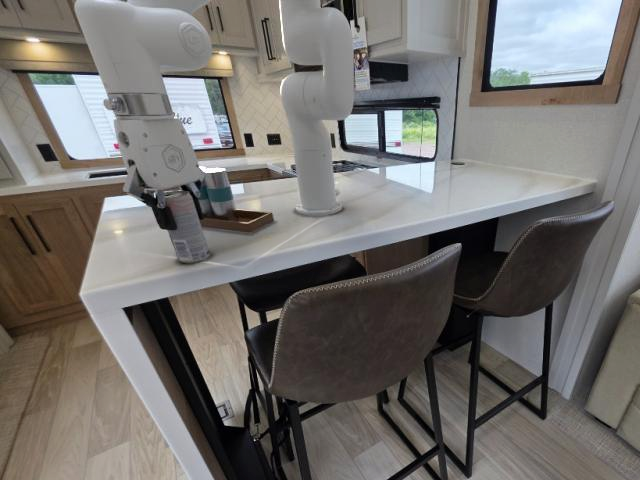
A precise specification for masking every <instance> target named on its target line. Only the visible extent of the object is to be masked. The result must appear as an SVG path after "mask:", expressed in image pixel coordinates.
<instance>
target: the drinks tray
mask: <svg viewBox="0 0 640 480" xmlns="http://www.w3.org/2000/svg"><path fill="white" fill-rule="evenodd" d="M236 211H237V215H238V219H239V222H235V221H226V220H217V219H209V218H204V219H203V220H200V224H201V227H202V228H207V229H217V230H224V231H233V232H241V233H249V234H251V233H252V232H254V231H256V230H258V229H260V228H262V227H264V226H266V225H268V224H270V223H272V222H274V221H275V219H274V214H273V212H272V211H261V210H251V209H241V208H236Z"/></svg>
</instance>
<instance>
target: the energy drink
mask: <svg viewBox="0 0 640 480" xmlns="http://www.w3.org/2000/svg"><path fill="white" fill-rule="evenodd" d="M164 194H165V206H166V207H169V208H170V209H171V212H172V215H173V218H174V220H175V223H176V226H177V229H176V230H174V231H172V230H166V231H167V234H168V236H169V238H170V242H171V244H172V247H173V249H174V252H175V254H176V258H177V260H178V261H179V262H181V263H183V264H196V263H200V262H202V261H203V259H206V258H208V257H209V256H210V255H211V252H210V249H209V246H208V242H207V239H206V236H205V234H204V230H203V227H201V224H200V220H199V217H198V214H197V211H196V208H195V205H194V202H193V199H192V196H191V195H190V194H189V192H188V191H181V190H170V191H164Z"/></svg>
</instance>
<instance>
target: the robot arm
mask: <svg viewBox="0 0 640 480" xmlns="http://www.w3.org/2000/svg"><path fill="white" fill-rule="evenodd" d="M212 1H213V0H126V1H123V0H75V3H74V6H73V7H74V12H75V15H76V18H77V21H78V24H79V26H80V29H81V32H82V34H83V37H84V39H85V43H86V44H87V47H88V50H89V52H90V54H91V58H92V59H93V62H94V65H95V67H96V70H97V72H98V75H99V77H100V80H101V82H102V86H103V88H104V91H105V93H106V96H107V98H105V99H103V101H102V103H103V106H104V108H105V109H106V110H108V111H112V112H113V115H114V116H115V119H113V128H114V132H115V133H114V134H115V138H116V141H117V146H118V148H119V152H120V156H121V158H122V161H123V164H124V168H125V170H126V172H127V175H126V178H125V181H124V184H123V187H122V191H123V193H124V194H126V195H128V196H130V197H133V198H134V199H136V200H138V201H139V202H141V203H142V204H145V206H146V207H148V208H151V211H152V213H153V216H154V218H155V221H156V223H157V225H158V226H159V229H161V230H163V231H164V230H165V231H167V230H172V231H174V230H176V229H177V226H176V223H175V220H174V218H173V215H172V212H171V209H170V208H169V207H166V206H165V194H164V192H165V190H169V189H172V188H177V187H178V189H179V191H188V192H189V194H190V195H191V196H192V199H193V202H194V205H195V208H196V211H197V214H198V217H199V220H203V219H204V216H203V212H202V209H201V206H200V203H199V199H198V197H200V192H199V190H200V188H201V185H202V183H201V182H202V181H203V179H204V176H205V172H204V171H203V170H202V169H201V168H200V167H201V166H200V163H199V161H198V158H197V154H196V152H195V150H194V147H193V145H192V142H191V140H190V137H189V135H188V132H187V131H186V128H185V127H184V125H183V123H182V121H181V119H180V118H179V117H175V114H174V111H173V107H172V104H171V101H170V99H169V95H168V91H167V88H166V85H165V81H164V78H163V74H162V73H165V72H166V73H168V72H194V71H198V70H201V69H203V68H204V67H206V66H207V65H208V64H209V63H210V61H211V59H212V56H213V44H212V40H211V37H210V35H209V33H208V31H207V30H206V28H205V27H204V26H203V24H202V23H201V22H200V21H199V20H198V19H197V18H195V17H194V16H193V14H194V13H195V12H196V11H198V10H200V8H202V7H204V6H205V5H208V4H209V3H210V2H212ZM278 3H279V15H280V25H281V36H282V37H281V38H282V44H283V49H284V53H285V54H286V57H287V58H288V59H289V61H291V62H292V63H293V64H296V65H299V66H322V70H323V71H297V72H293V73H290V74H288V75H286V76H285V77H284V79H283V80H282V82H281V85H280V88H279V89H280V90H279V94H280V96H279V97H280V100H281V101H280V102H281V104H282V107H283V110H284V111H283V112H284V114H285V117H286V120H287V123H288V129H289V133H290V139H291V145H292V152H293V160H294V166H295V172H296V178H297V187H298V192H299V193H298V194H299V199H300V203H298V204H296V206H295V211H296V212H297V213H299V214H301V215H310V216H320V215H321V216H323V215H327V216H329V215H334V214H336V213H339V212H340V211H342V209H343V203H341V202H340V201H337V197H338V196H339V195H340V194H341V191H340V189H339V188H336V184H335V174H334V164H333V152H332V143H331V142H332V141H331V136H330V134H329V132H328V129H327V127H326V125H325V124H324V122H323V121H343V120H346V119H348V118H349V117H350V116H351V114H352V111H353V108H354V102H355V101H354V99H355V58H354V57H355V53H354V52H355V51H354V49H355V47H354V38H353V33H352V29H351V26H350V23H349V20H348V19H347V17H346V16H345V14H344V13H343V12H342V11H341V10H339V9H338V8H336V7H332V6H331V7H330V6H328V7H327V6H326V7H322V6H321V0H278ZM186 185H187V186H186ZM142 189H143V190H142Z"/></svg>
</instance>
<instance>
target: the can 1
mask: <svg viewBox="0 0 640 480" xmlns="http://www.w3.org/2000/svg"><path fill="white" fill-rule="evenodd" d="M199 167H200V168H201V169H202V170H205V169H207V168H206V167H205V166H199ZM201 183H202V185H201V188H200V190H199V192H200V197H198V199H199V203H200V206H201V209H202V212H203V216H204V218H209V219H215V217H214V213H213V210H212V206H211V203H210V200H209V197H208V193H207V190H206V186H205V182H204V179H203V181H202V182H201ZM186 186H187V185H186Z"/></svg>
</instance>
